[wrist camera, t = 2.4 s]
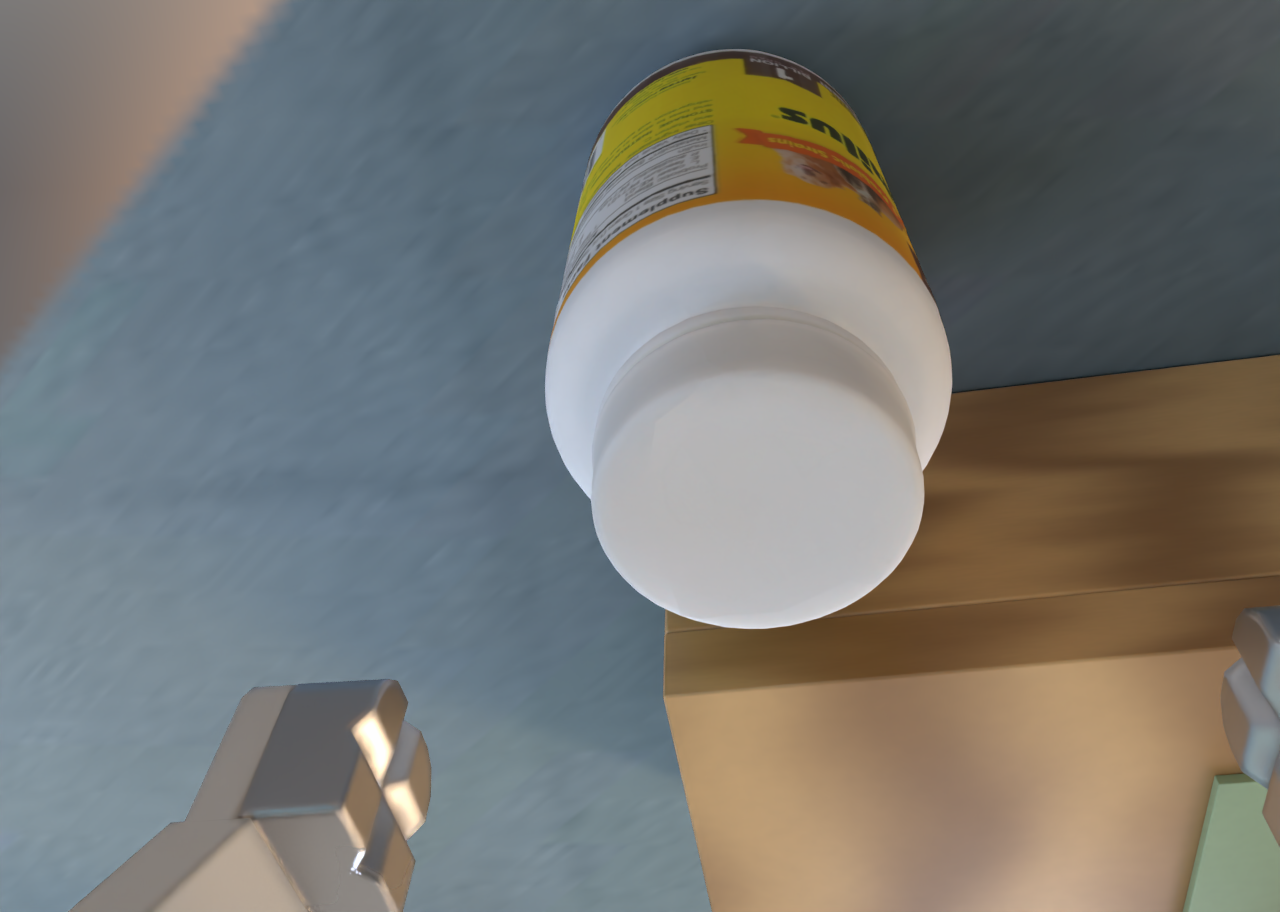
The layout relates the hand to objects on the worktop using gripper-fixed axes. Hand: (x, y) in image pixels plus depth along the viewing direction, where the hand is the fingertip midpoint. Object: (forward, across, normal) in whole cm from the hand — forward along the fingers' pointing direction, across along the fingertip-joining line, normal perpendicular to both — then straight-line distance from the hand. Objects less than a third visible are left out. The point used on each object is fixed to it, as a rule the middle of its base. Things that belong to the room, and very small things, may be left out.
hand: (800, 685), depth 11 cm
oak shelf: (+13, -6, +12) cm, 19 cm away
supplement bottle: (+13, 0, 0) cm, 13 cm away
